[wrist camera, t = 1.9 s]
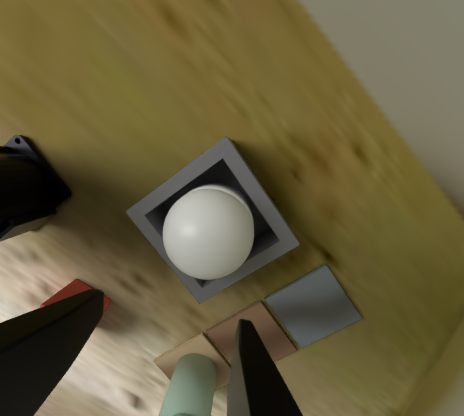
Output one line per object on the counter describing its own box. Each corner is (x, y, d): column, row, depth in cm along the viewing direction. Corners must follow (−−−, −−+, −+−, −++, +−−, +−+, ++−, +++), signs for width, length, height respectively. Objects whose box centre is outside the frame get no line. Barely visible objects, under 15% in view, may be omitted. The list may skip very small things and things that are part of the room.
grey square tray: (148, 200, 20) (125, 211, 17) (230, 139, 19) (226, 136, 15) (208, 276, 22) (199, 303, 18) (290, 226, 20) (299, 244, 16)
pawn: (167, 364, 24) (128, 465, 17) (200, 346, 24) (175, 444, 16) (192, 392, 25) (166, 502, 17) (225, 376, 24) (213, 484, 16)
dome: (163, 210, 18) (124, 237, 13) (224, 166, 17) (211, 174, 11) (207, 267, 19) (190, 316, 14) (267, 229, 18) (277, 266, 12)
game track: (154, 358, 25) (153, 361, 24) (325, 263, 21) (326, 265, 20) (191, 399, 26) (190, 402, 25) (360, 316, 22) (362, 318, 21)
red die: (60, 306, 24) (19, 340, 20) (76, 278, 23) (36, 307, 19) (94, 326, 24) (60, 364, 20) (110, 299, 23) (79, 333, 19)
